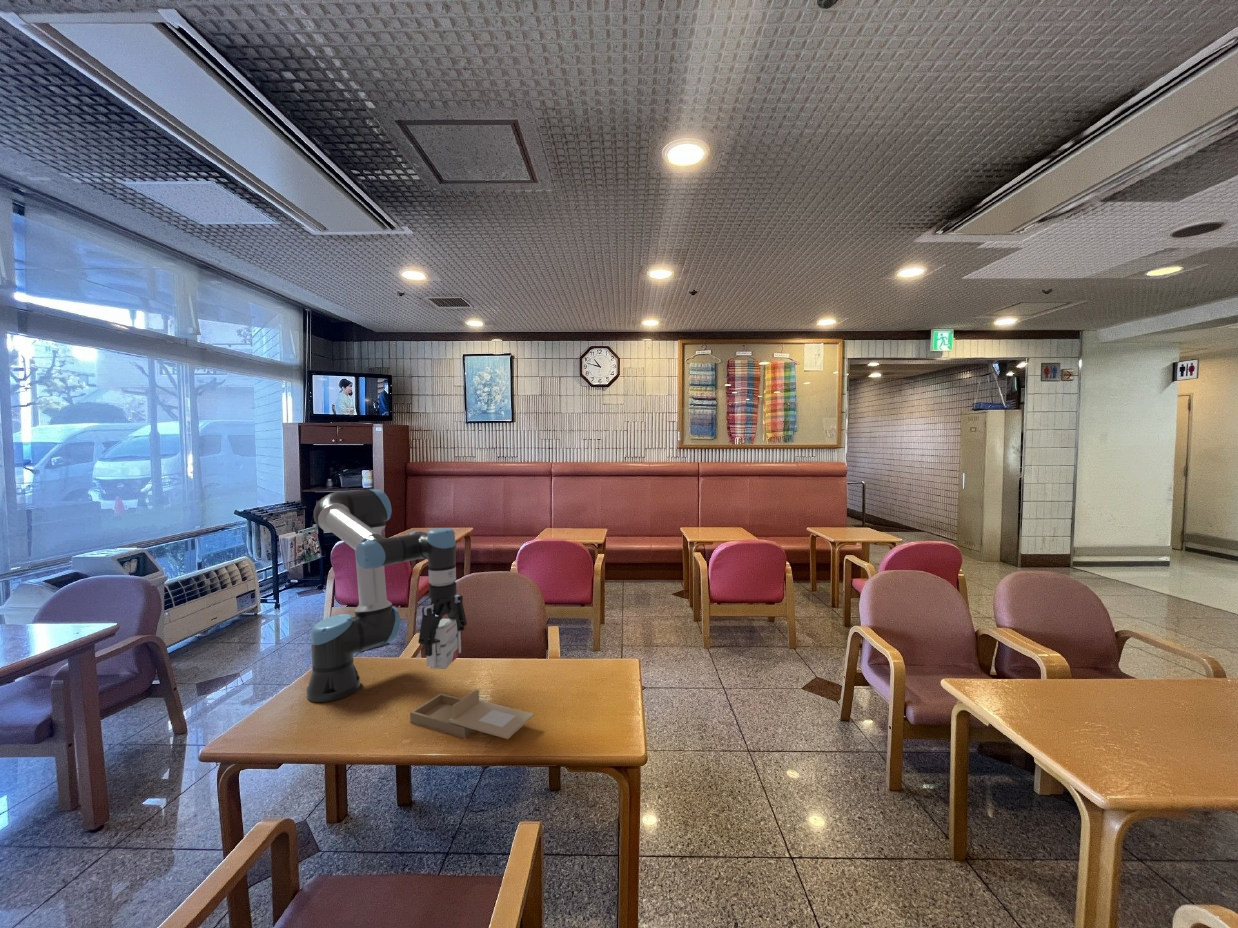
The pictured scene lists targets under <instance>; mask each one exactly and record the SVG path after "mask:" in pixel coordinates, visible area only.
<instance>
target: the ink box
mask: <svg viewBox="0 0 1238 928" xmlns="http://www.w3.org/2000/svg"><path fill="white" fill-rule="evenodd" d="M433 643H435V645H436V666H435V667H431V666H429V668H430V669H433V670H434V669H435V670H436V669H437V670H446V669H447V668H448V667H450V665H452V664H453V662H454V661H455V660H456V659H457V658H458V657H459V653H458V640H457V623H456V619H449V618H442V620H440V622H439V626H438V628H437V629H436V635H435V638H434V641H433Z"/></svg>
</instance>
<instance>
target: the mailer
mask: <svg viewBox="0 0 1238 928" xmlns="http://www.w3.org/2000/svg"><path fill="white" fill-rule="evenodd" d="M461 699H463V698H462V697H458V696H453V695H449V694H445V693H438V695H435V696H434V697H432V698H431V699H429V700H428V701H425V703H423V704H421V705H419V706H418V707H416V708H415V709H413V710H412V711H410V712H409V717H410V718H409V720H410V722H409V723H410V724H414V725H417V726H420V727H424V728H426V729H431V730H433V731H438V732H441V733H445V734H447V735H450V736H454V737H457V738H460V739H464V740H466V739H467V738H468V737H469V736H471V735H472V734H473V733H475V732H476V731H477V730H474V729H470V728H467V727H463V726H460V725H456V724H453V723H449V722H448V720H449V719H450V718H452V705H454V704H455V703H457V702H458V701H460V700H461Z"/></svg>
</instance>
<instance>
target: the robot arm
mask: <svg viewBox="0 0 1238 928" xmlns="http://www.w3.org/2000/svg"><path fill="white" fill-rule="evenodd" d="M392 513H393V512H392V505H391V500H390V499H389V497H388V495H387V494H386V493H385V491H383V490H382V489H376V488H375V489H369V488H367V489H359V490H358V489H357V490H348V491H346V490H345V491H334V492H331V493H329V494H327V495H325V496H324V497H323V496H322V497H321V499H319V501H318V502H317V503H316V505H315V506H314V510H313V519H314V522H315V524H317V527H319V528H320V529H322V530H323V531H324V532H327V533H332V534H334V535H335V536H336V537H337V538H339V539H340V540H341V541H343V542H344V543H345V544H346V545H347V546H349V547H350V548H351V549H353V550H354V554H355V566H356V567H355V568H356V576H357V578H356V579H357V593H358V605H357V607H356V608H355V609H354V616H353V615H351V614H347V613H345V614H344V613H343V614H342V613H341V614H339V615H338V614H335V615H331V616H329V617H325V618H324V619H321V620H320V621H318V622H317V623H315V625H314V626H313V627H312V628H311V635H310V636H311V638H310V644H311V646H310V647H311V668H312V669H311V670H312V671H311V676H310V678H309V681H308V686H307V688H306V698H307V700H308V701H310V702H311V703H327V702H334V701H337V700H340V699H344V698H346V697H348V696H351V695H352V694H354V693H355V692H357V691H358V690H359V689H360V687H361V678H360V675H359V672H358V670H357V668H356V666H355V662H354V654H356V653H360V652H363V651H366V650H369V649H373V648H375V647H379V646H383V645H385V644H387V643H390V642H392V641H394V640H395V639H396V638H397V636H398V635H399V633H400V630H401V615H400V614H399V612H400V611H399V610H398V608H396V607H395V606H393V603H392V602H391V601H390V600H388V598H387V587H386V586H387V584H386V574H385V573H386V572H385V566H389V565H394V564H398V563H406V562H410V561H415V560H420V559H423V560H426V561H427V565H428V566H427V569H428V583H429V584H428V597H429V598H430V600H431V601H430V605H429V606H427V607H426V606H424V607H422V608H421V614H422V615H421V617H422V618H421V624H420V628H419V629H420V631H419V635H418V636H419V637H418V644H420V645H424V655H425V657H426V666H427V667H430V666H431V667H435V666H436V645H435V643H433V641H434V638H435V635H436V629H437V628H438V626H439V622H440V620H442V619H443V617H444V616H446V615H447V618H448V619H456V623H457V640H458V654H461V653H462V639H463V637H462V635H463V632H462V631H464V630H465V629H466V626H467V625H468V624H467V623H468V621H467V617H466V613H465V612H466V611H465V608H464V605H463V604H464V603H463V600H464V599H463V598H464V596H463V595H461V594H457V592H458V591H457V582H456V580H457V567H456V564H457V559H456V558H457V557H456V556H457V554H456V553H457V552H456V551H457V549H456V548H457V547H456V546H457V545H456V544H457V541H456V536H455V535H456V534H455V533H456V532H455V530H454V529H452V528H447V527H439V528H438V527H437V528H433V529H429V530H428V532H426V531H411V532H409V534H405V535H399V536H393V537H384V535H382V531H383V530H384V529H385V528H386V525H387V524H386V522H387V521H389V520H390V519H391V518H392V517H391V516H392Z"/></svg>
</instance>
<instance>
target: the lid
mask: <svg viewBox="0 0 1238 928" xmlns="http://www.w3.org/2000/svg"><path fill="white" fill-rule="evenodd" d="M534 716H535V713H533V712H530V711H526V710H525V711H524V710H521V709H516V708H513V707H510V706H509V707H508V706H505V705H500V704H496V703H492V702H489V701H484V700H481V699H480V690H479V689H475V690H473V691H472V692H470V693H469V694H467V695H466V696H464V697H463V698H462V699H461V700H460V701H458V702H457V703H455V704H454V705H452V718H450V719H449V720H448V722H449V723H453V724H456V725H460V726H463V727H467V728H470V729H474V730H476V731H477V732H481V733H485V734H489V735H491V736H496V737H499V738H503V739H505V740H508V739H510V738H511V737H512V736H513V735H514V734H515V733H516V732H517V731H519V730H520V729H521V728H522V727H524V725H526V724H527V723H528V722H529V721H530V720H531V719H533V717H534Z"/></svg>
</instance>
